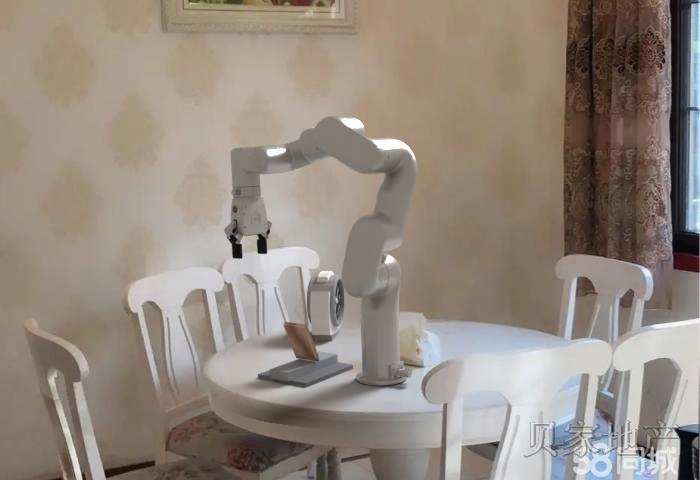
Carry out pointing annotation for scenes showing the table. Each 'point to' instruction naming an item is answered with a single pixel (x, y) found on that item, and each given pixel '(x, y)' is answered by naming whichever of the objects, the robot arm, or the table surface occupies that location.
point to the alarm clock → (325, 305)
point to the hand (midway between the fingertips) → (250, 256)
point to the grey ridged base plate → (307, 370)
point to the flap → (301, 341)
